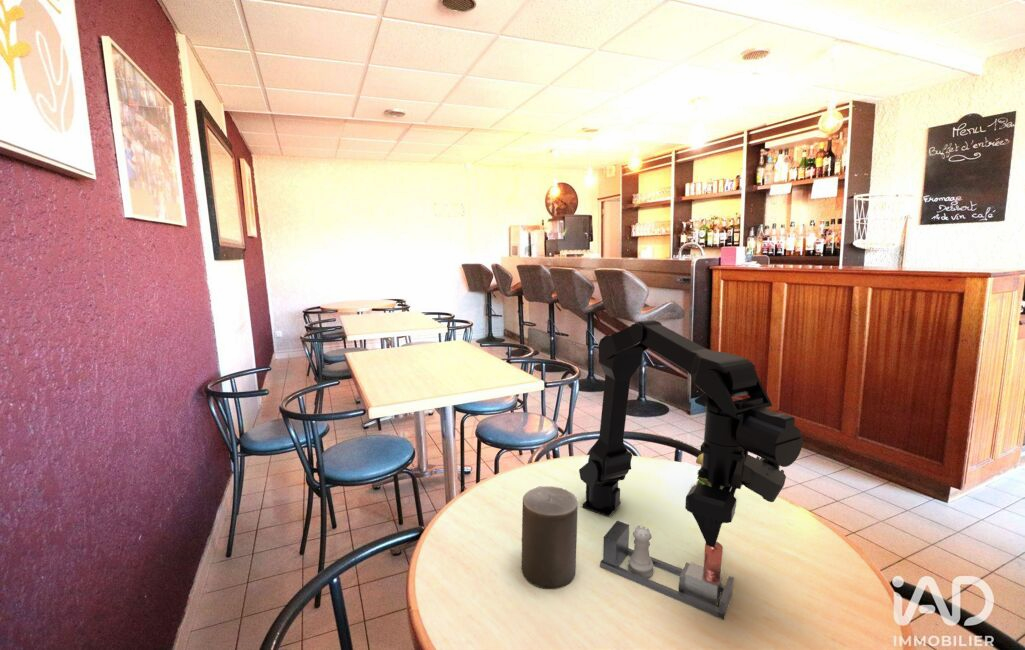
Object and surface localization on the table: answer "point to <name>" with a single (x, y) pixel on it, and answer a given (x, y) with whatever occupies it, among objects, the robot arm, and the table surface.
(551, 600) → the table surface
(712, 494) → the robot arm
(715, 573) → the ram
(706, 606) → the press bed
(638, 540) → the rook chess piece
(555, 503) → the pillar candle
